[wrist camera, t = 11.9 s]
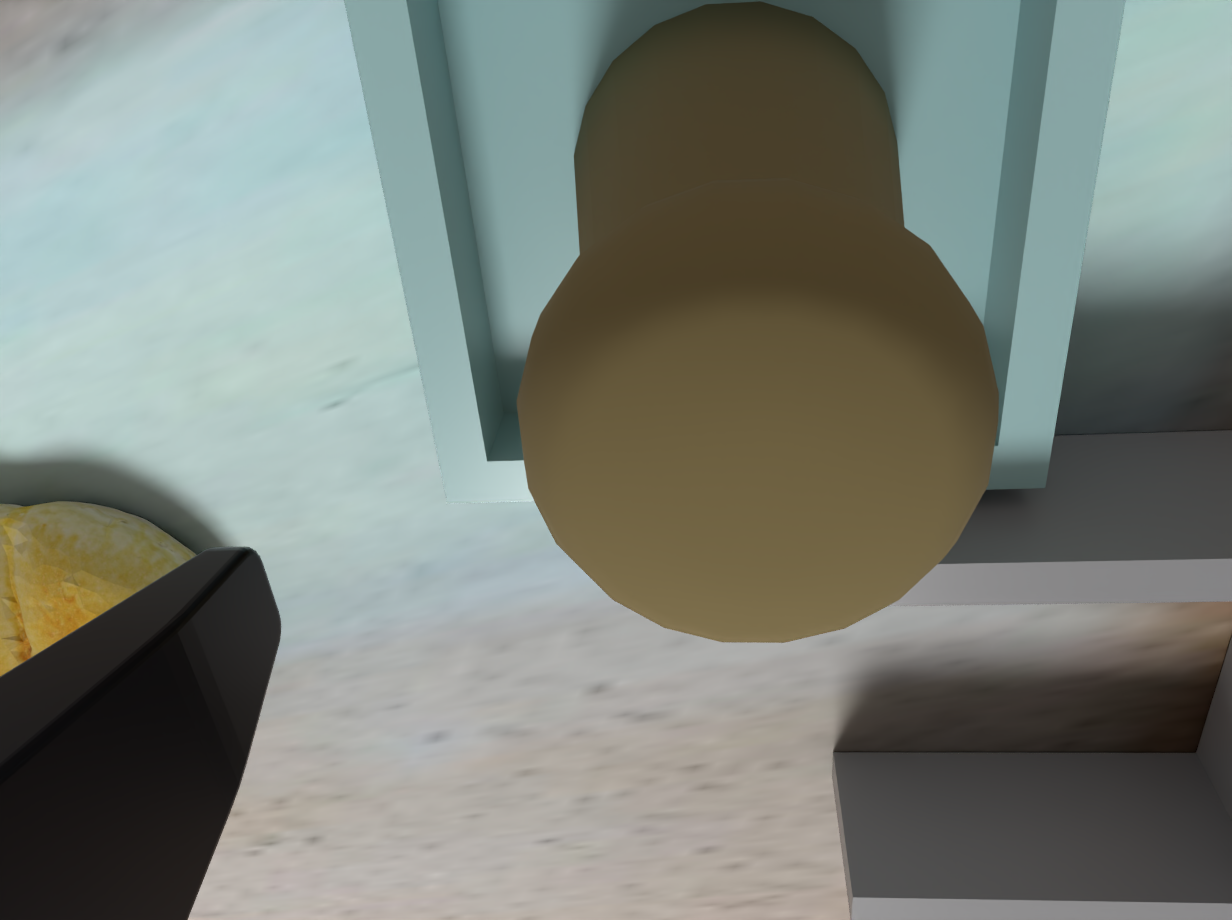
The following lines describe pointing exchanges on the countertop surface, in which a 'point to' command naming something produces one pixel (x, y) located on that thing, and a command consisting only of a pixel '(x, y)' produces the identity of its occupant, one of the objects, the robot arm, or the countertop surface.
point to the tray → (546, 193)
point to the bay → (1064, 782)
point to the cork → (752, 342)
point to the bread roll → (71, 569)
